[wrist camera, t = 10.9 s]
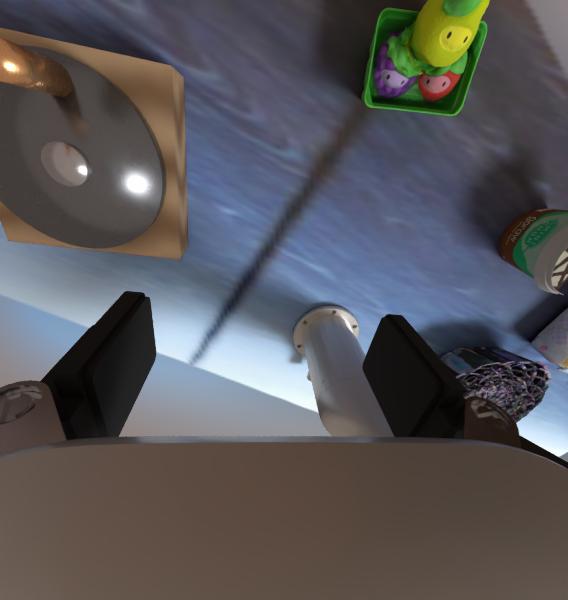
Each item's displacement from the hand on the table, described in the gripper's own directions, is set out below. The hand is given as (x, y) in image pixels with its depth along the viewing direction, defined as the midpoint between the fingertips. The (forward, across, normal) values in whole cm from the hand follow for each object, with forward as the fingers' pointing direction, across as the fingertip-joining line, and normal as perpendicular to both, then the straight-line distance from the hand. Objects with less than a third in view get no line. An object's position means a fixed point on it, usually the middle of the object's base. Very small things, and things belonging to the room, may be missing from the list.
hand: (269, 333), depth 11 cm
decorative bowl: (+31, -49, +32) cm, 67 cm away
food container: (+31, -42, -1) cm, 52 cm away
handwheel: (+25, +20, -2) cm, 32 cm away
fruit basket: (+31, -15, -17) cm, 38 cm away
